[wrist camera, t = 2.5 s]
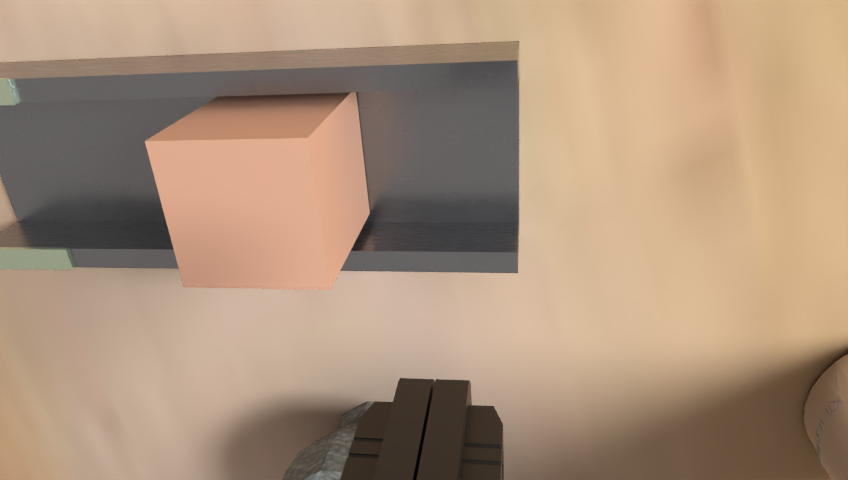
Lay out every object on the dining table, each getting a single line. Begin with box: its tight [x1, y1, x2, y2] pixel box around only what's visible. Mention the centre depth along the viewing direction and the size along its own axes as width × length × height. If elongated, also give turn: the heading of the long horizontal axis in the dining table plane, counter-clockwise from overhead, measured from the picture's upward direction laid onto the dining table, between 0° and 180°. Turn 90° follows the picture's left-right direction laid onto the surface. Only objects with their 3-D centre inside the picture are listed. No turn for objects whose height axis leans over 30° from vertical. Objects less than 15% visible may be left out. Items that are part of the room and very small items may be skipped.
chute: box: [0, 41, 519, 273], centre depth 30 cm, size 26×9×4 cm, turn 94°
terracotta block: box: [145, 92, 370, 290], centre depth 27 cm, size 6×6×7 cm
